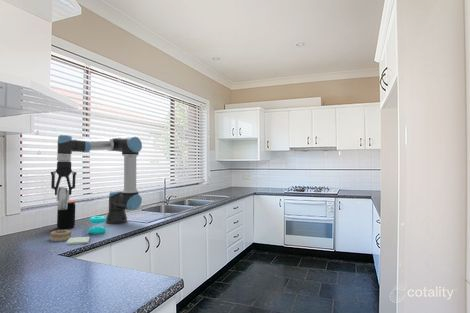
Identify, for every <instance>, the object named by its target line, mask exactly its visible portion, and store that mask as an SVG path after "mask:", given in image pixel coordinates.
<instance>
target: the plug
mask: <svg viewBox="0 0 470 313" xmlns="http://www.w3.org/2000/svg"><path fill="white" fill-rule="evenodd" d="M58 189H59V195H58V201H57V211H58V210H66V209H67V202H68V201H67V190H68V189H69V187H68V186H59V187H58Z"/></svg>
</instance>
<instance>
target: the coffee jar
mask: <svg viewBox="0 0 470 313" xmlns="http://www.w3.org/2000/svg"><path fill="white" fill-rule="evenodd" d="M56 211H57V215H56V227H57V229H58V230H69V229H73V228H74V227H75V226H76V200H75V199H69V201H68V202H67V209H66V210H58V209H57V210H56Z"/></svg>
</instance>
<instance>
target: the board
mask: <svg viewBox="0 0 470 313" xmlns="http://www.w3.org/2000/svg"><path fill="white" fill-rule="evenodd" d="M90 239H91V236H79V237H78V236H77V237H71V238H69V239H68V240H66V243H65V244H66V246H68V245H69V246H70V245H81V244H82V245H83V244H84V245H85V244H89V242H90Z"/></svg>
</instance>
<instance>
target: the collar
mask: <svg viewBox="0 0 470 313" xmlns="http://www.w3.org/2000/svg"><path fill="white" fill-rule="evenodd" d="M49 237H50V241H53V242H62V241H63V240H64V241H68V239H69V238H72V230H71V229H70V230H69V229H58V230H53V231H51V232H50V236H49Z"/></svg>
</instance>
